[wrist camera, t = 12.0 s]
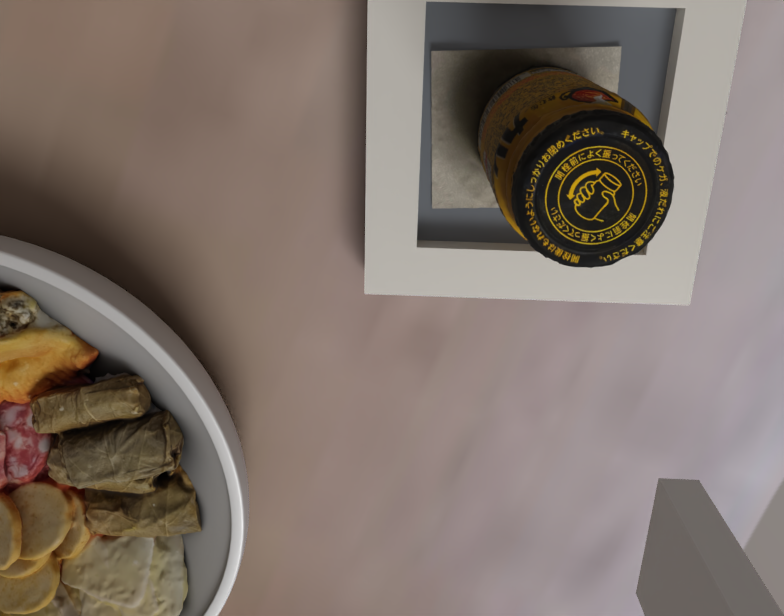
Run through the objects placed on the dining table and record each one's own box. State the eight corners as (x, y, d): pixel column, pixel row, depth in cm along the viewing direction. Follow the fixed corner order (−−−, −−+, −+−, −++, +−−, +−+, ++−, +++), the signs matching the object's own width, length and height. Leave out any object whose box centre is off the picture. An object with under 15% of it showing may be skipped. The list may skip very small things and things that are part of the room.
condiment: (606, 205, 36) (688, 294, 25) (431, 207, 37) (436, 297, 26) (620, 45, 34) (718, 68, 23) (431, 50, 34) (435, 74, 23)
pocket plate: (672, 286, 39) (689, 305, 37) (367, 275, 40) (364, 293, 37) (732, -52, 33) (757, -56, 31) (372, -61, 34) (368, -65, 31)
